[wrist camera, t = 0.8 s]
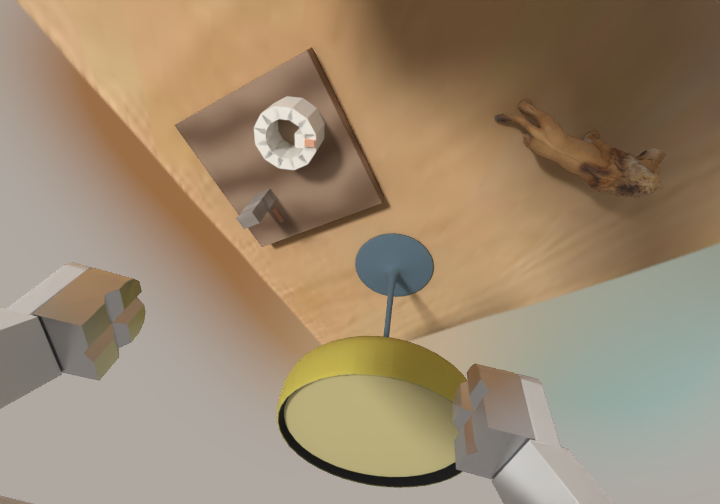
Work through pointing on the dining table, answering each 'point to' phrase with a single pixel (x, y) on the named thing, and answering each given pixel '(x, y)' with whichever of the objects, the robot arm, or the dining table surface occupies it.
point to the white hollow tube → (305, 136)
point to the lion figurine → (591, 156)
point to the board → (264, 180)
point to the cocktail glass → (376, 390)
